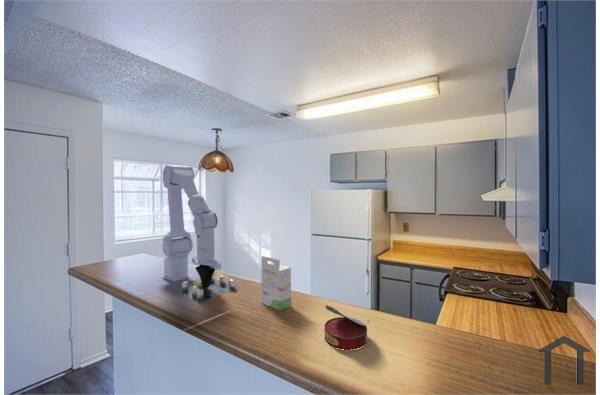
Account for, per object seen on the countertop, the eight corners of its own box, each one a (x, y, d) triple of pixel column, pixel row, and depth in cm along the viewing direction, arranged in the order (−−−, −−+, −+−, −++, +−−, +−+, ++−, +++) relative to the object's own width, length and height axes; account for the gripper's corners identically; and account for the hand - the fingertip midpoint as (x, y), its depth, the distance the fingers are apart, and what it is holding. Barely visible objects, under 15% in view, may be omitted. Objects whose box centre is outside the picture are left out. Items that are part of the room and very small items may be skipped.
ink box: (292, 306, 85) (292, 257, 84) (280, 311, 81) (279, 260, 81) (272, 298, 91) (272, 252, 90) (260, 303, 87) (260, 255, 87)
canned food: (325, 351, 70) (321, 308, 74) (367, 347, 69) (359, 304, 74) (326, 354, 59) (320, 304, 64) (374, 350, 59) (365, 299, 63)
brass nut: (190, 286, 100) (190, 281, 100) (202, 283, 104) (202, 277, 104) (198, 290, 97) (198, 284, 97) (210, 286, 101) (210, 280, 101)
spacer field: (174, 292, 96) (174, 282, 96) (214, 280, 109) (214, 271, 109) (199, 303, 87) (199, 292, 87) (240, 288, 99) (240, 279, 99)
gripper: (183, 246, 99) (184, 285, 100) (207, 252, 90) (208, 294, 91) (201, 243, 105) (202, 279, 105) (226, 248, 96) (226, 288, 96)
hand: (206, 286), depth 98 cm, fingers closed
